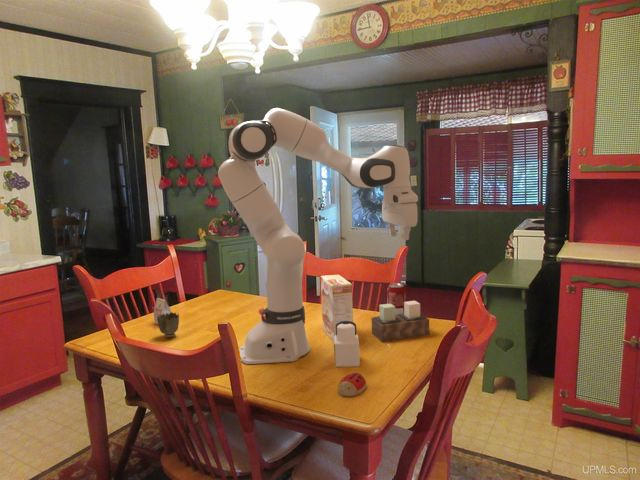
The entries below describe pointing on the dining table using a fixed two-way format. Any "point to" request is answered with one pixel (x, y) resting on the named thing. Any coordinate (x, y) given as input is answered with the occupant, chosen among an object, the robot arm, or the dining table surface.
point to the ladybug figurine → (352, 385)
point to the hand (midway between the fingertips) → (399, 237)
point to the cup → (168, 324)
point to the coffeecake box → (335, 302)
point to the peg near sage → (387, 312)
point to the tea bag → (160, 308)
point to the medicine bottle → (346, 345)
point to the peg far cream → (412, 309)
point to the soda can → (396, 297)
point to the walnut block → (400, 327)
